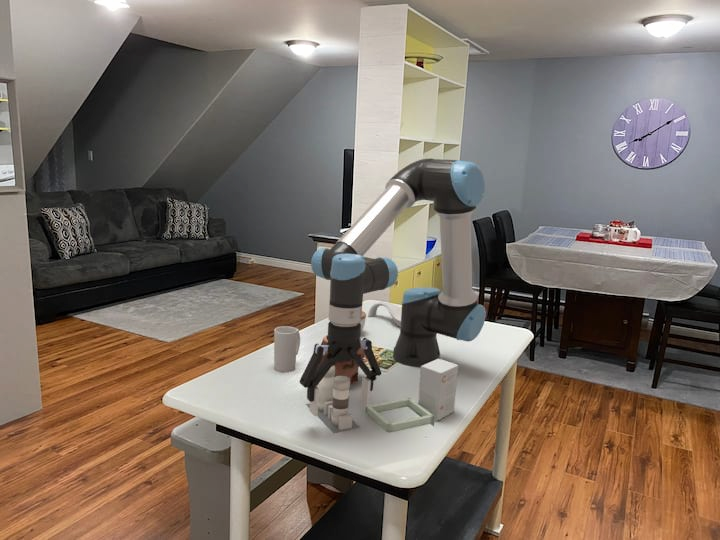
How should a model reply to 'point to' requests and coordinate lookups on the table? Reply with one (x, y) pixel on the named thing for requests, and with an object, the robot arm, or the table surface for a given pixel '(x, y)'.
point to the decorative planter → (345, 364)
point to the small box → (438, 387)
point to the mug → (286, 348)
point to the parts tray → (423, 419)
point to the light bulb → (340, 398)
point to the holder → (326, 405)
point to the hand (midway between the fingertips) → (339, 408)
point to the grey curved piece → (393, 310)
